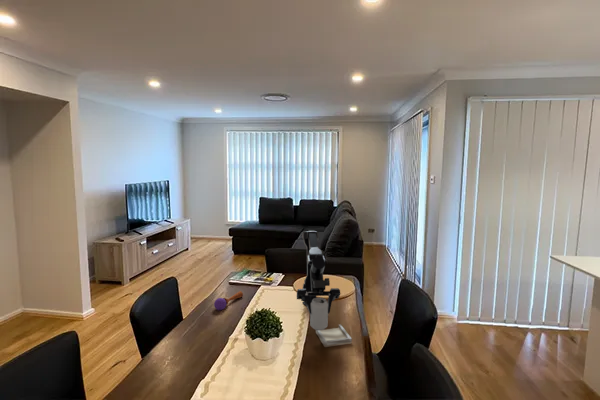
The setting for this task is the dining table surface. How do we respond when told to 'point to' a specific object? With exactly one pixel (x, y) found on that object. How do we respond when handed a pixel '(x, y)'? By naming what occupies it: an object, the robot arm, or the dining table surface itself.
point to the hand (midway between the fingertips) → (319, 313)
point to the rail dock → (334, 336)
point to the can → (319, 313)
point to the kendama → (226, 301)
